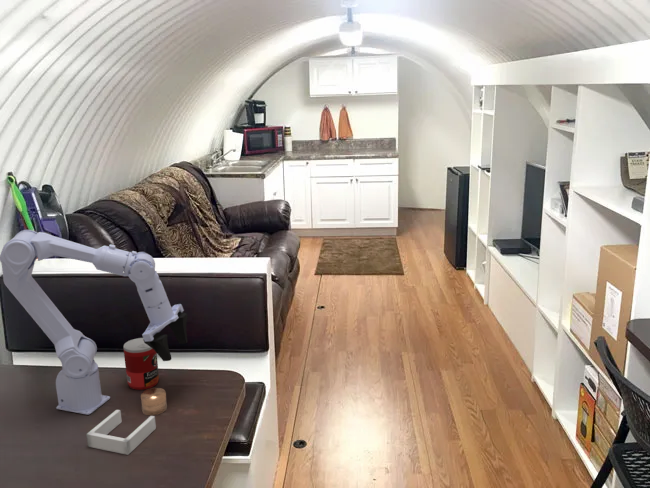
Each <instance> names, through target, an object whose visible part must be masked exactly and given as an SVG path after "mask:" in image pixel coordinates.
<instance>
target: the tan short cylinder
mask: <svg viewBox="0 0 650 488" xmlns="http://www.w3.org/2000/svg"><path fill="white" fill-rule="evenodd" d="M140 399H141V400H140V401H141V410H142V414H144V415H146V416H157V415H161V414H162V413H164V412H165V411H167V408H168V405H167V404H168V403H167V392H166V390H165V389H164V388H161V387H151V388H148V389H145V390H144V391H142V392H141V393H140Z"/></svg>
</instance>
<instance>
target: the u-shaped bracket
mask: <svg viewBox="0 0 650 488" xmlns="http://www.w3.org/2000/svg"><path fill="white" fill-rule="evenodd" d="M122 420H123V419H122V411H121V410H120V409H115V410H114V411H113V412H112V413H110V414H109V415H108V416H107V417H106V418H104V419H103V420H102V421H100V423H99V422H98V424H97V425H95V427H93V428H92V429H91V430H90V431H88V432H87V433H85V434H86V442H87V447H89V448H94V449H98V450H103V451H106V452H107V451H108V452H112V453H117V454H121V455H127V456H129V455H130V454H131V453H132V452H133V451H134V450H135V449H136V448H137V447H139V445H140V444H142V442H143V441H144V440H146V438H148V437H149V436H150V435H151V433H153V432H154V431H155V430H156V428H157V425H156V424H157V423H156V415H149V416H148V418H146V419H145V420H144V421H143V422H142V423H141V424H140V425H139V426H138V427H137V428H136V429H135V430H133V431H132V432H131V433H130V434H129V435H128V436H126V437H125V438H123V437H120V436H113V435H110V434H109V433H111V432H112V431H113V430H114V429H115V428H116V427H118V426H119V425H120V424H121V423H122ZM108 434H109V435H108Z"/></svg>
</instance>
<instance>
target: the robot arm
mask: <svg viewBox="0 0 650 488" xmlns="http://www.w3.org/2000/svg"><path fill="white" fill-rule="evenodd" d="M55 256H56V257H61V258H66V259H70V260H76V261H81V262H85V263H91V264H92V265H93V266H94V268H95V269H96V270H97V271H102V272H106V273H109V274H113V275H118V276H122V277H128V278H129V279H130V280H131V281H132V282H133V283H134V284H135V286H136V290H137V293H138V296H139V298H140V300H141V304H143V305H142V306H143V308H144V310H145V313H146V314H147V317H148V320H149V323H148V326H147V328H146V329H145V331H144V332H143V333H142V334H141V335H142V338H144V339H143V340H144V343H145V344H147V345H148V346H150V347H151V348H152V349H153V350H154V351H155V352H156V353H157V356H159V358H160V359H161V360H162V362H169V361H171V360H172V354H171V351H170V349H169V348H170V347H169V344H168V334H162V333H160V332H161V331H162V330H163V329H164V328H165V327H166V326H169V328H170V329H171V330H172V332H173V334H174V336H175V338H176V340H177V342H178V344H179V345H183V344H187V343H188V333H187V332H188V331H187V321H188V314H187V313H186V312H184V311H185V309H184V307H183V305H182V304H181V303H178V304H174V305H172V306H171V303H170V301H169V298H168V296H167V295H168V294H167V292H166V290H165V288H164V285H163V283H162V280H161V279H160V276H159V274H158V272H157V270H155V269H156V262H155V259H154V257H153V256H152V255H150V254H149V253H147V252H145V251H139V252H137V251H134V250H132V251H127V250H124V249H119V248H116V245H114V244H111V243H110V244H109V246H108V245H103V246H101V247H97V248H95V247H91V246H87V245H86V244H85V245H84V244H82V243H78V242H74V241H72V240H67V239H65V238H61V237H58V236H54V235H51V234H49V233H47V232H42V231H39V232H37V231H35V230H32V229H23V230H21V231H19V232H17V233H16V234H15V236H14V237H13V238H11V239H10V240H8V241H7V242H6V243H5V244H4V245H3V247H2V250H1V252H0V263H1V272H2V280H3V284H4V285H5V287H7V289H8V290H9V292H10V293H11V294H12V295H13V296H14V297H15V299H16V300H17V301H18V302H19V304H20V305H21V306H22V307H23V308H24V309H25V311H26V312H27V313H28V315H29V316H30V317H31V318H32V319H33V321H34V322H35V323H36V324H37V326H38V327H39V328H40V329H41V330H42V332H43V333H44V334H45V335H46V337H48V339H49V341H51V342H52V344H53V345H54V348H55V349H54V350H55V353H56V356H57V358H58V359H59V360H60V363H61V368H62V369H61V370H60V371H59V372H58V373H57V376H56V378H55V389H56V394H57V395H56V396H57V402H58V405H57V406H56V407H55V408H56V410H62V411H66V412H72V413H77V414H83V415H91V414H92V413H94V412H95V411H96V410H97V409H99V408H100V407H101V406H102V405H104V404H105V403H106V402H108V401H109V400H110V399H111V396H109V395H104V394H102V389H101V388H102V387H101V379H100V372H99V365H98V363H97V362H96V361H95V356H96V354H97V350H98V347H97V344H96V342H95V341H94V340H93V339H91V338H89V337H87V336H85V335H84V334H83V332H81V330H78V329H75V328H74V327H73V326H72V325H71V323H70V322H69V320H67V318H65V316H64V315H63V313H62V312H61V311H60V310H59V309H58V307H57V306H56V305H55V303H54V302H53V301H52V300H51V299H50V297H49V296H48V295H47V294H46V293H45V291H44V290H43V289H42V287H41V286H40V285H39V284H38V282H37V281H36V280H35V278H34V277H33V276H32V274H33V270H34V267H35V264H36V263H35V262H36V260H37V261H43V260H46V259H49V258H52V257H55Z"/></svg>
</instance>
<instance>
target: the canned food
mask: <svg viewBox="0 0 650 488" xmlns="http://www.w3.org/2000/svg"><path fill="white" fill-rule="evenodd" d="M143 339H144V338H143V337H138V338H134V339H130V340H128V341H126V342H125V343H124V344H123V356H124V363H125V365H124V366H125V372H126V381H127V385H128V386H129V388H130V389H133V390H137V391H142V390H144V391H145V390H148V389H151V388H154V387H155V386H157V384H158V383H159V379H160V374H159V364H158V354H157V353H156V352H155V351H154V350H153V349H152V348H151V347H150V346H148V345H147V344H145V343H144V340H143Z"/></svg>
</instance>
